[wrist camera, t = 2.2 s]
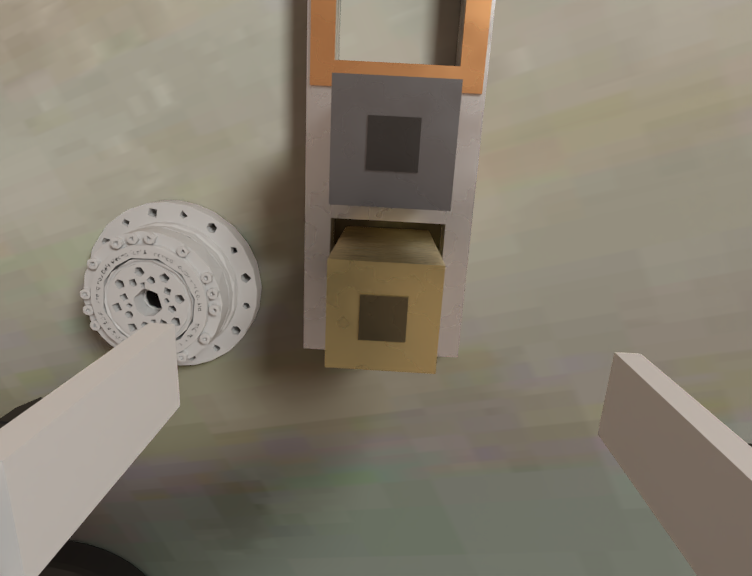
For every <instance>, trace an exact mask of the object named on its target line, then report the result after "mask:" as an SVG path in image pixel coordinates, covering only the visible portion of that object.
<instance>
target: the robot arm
mask: <svg viewBox="0 0 752 576" xmlns="http://www.w3.org/2000/svg"><path fill="white" fill-rule="evenodd" d="M179 407H180V397H179V383H178V368H177V354H176V339H175V325H174V324H163V323H148V324H147V325H145V326H144V327H143V328H141V329H140V330H138V331H137V332H136V333H134V334H133V335H131V336H130V337H128V338H127V339H126V340H124V341H123V342H121V343H120V344H119V345H117V346H116V347H114V348H113V349H112V350H110V351H109V352H107V353H106V354H105V355H103V356H102V357H100V358H99V359H98V360H96V361H95V362H93V363H92V364H90V365H89V366H88V367H86V368H85V369H83V370H82V371H81V372H79V373H78V374H76V375H75V376H74V377H72V378H71V379H69V380H68V381H67V382H65V383H64V384H62V385H61V386H60V387H58V388H57V389H55V390H54V391H53V392H51V393H50V394H48V395H47V396H45V397H44V398H41V397H40V398H38V399H35V400H33V401H31V402H28V403H26V404H24V405H21V406H19V407H17V408H15V409H13V410H12V411H10V412H9V413H8V414H6V415H5V416H3V417H2V418H0V576H145V575H144V574H143V573H142V572H141V571H139V570H138V569H137V568H136V567H134V566H133V565H131V564H130V563H128V562H127V561H125V560H124V559H122V558H120V557H118V556H116V555H114V554H112V553H110V552H108V551H105V550H103V549H100V548H97V547H94V546H90V545H87V544H82V543H77V542H70V541H68V539H69V538H70V537H71V536H72V535H73V533H74V532H75V531H76V530H77V529H78V527H79V526H80V525H81V524H82V523H83V521H84V520H85V519H86V518H87V517H88V515H89V514H90V513H91V512H92V511H93V509H94V508H95V507H96V506H97V505H98V503H99V502H100V501H101V500H102V499H103V497H104V496H105V495H106V494H107V493H108V491H109V490H110V489H111V488H112V487H113V485H114V484H115V483H116V482H117V481H118V479H119V478H120V477H121V476H122V475H123V474H124V472H125V471H126V470H127V469H128V468H129V466H130V465H131V464H132V463H133V462H134V460H135V459H136V458H137V457H138V456H139V454H140V453H141V452H142V451H143V450H144V448H145V447H146V446H147V445H148V444H149V442H150V441H151V440H152V439H153V438H154V436H155V435H156V434H157V433H158V432H159V430H160V429H161V428H162V427H163V426H164V424H165V423H166V422H167V421H168V420H169V418H170V417H171V416H172V415H173V414H174V412H175V411H176V410H177V409H178V408H179ZM598 435H599V436H600V438H601V439H602V441H603V442H604V443H605V445H606V446H607V448H608V449H609V451H610V452H611V453H612V455H613V456H614V458H615V459H616V461H617V462H618V463H619V465H620V466H621V468H622V469H623V470H624V472H625V473H626V475H627V476H628V478H629V479H630V480H631V482H632V483H633V485H634V486H635V488H636V489H637V490H638V492H639V493H640V495H641V496H642V498H643V499H644V500H645V502H646V503H647V505H648V506H649V507H650V509H651V510H652V512H653V513H654V515H655V516H656V517H657V519H658V520H659V522H660V523H661V525H662V526H663V527H664V529H665V530H666V532H667V533H668V534H669V536H670V537H671V539H672V540H673V542H674V543H675V544H676V546H677V547H678V549H679V550H680V552H681V553H682V554H683V556H684V557H685V559H686V560H687V562H688V563H689V564H690V566H691V567H692V569H693V570H694V571H695V573H696V574H697V576H752V444H747V443H746V442H745V441H744V440H742V439H741V438H740V437H739V436H738V435H737V434H735V433H734V432H733V431H732V430H731V429H729V428H728V427H727V426H726V425H725V424H724V423H722V422H721V421H720V420H719V419H718V418H716V417H715V416H714V415H713V414H712V413H710V412H709V411H708V410H707V409H706V408H705V407H703V406H702V405H701V404H700V403H699V402H697V401H696V400H695V399H694V398H693V397H692V396H690V395H689V394H688V393H687V392H686V391H684V390H683V389H682V388H681V387H680V386H678V385H677V384H676V383H675V382H674V381H673V380H671V379H670V378H669V377H668V376H667V375H665V374H664V373H663V372H662V371H661V370H660V369H658V368H657V367H656V366H655V365H654V364H652V363H651V362H650V361H649V360H648V359H647V358H645V357H644V356H643V355H642V354H637V353H621V352H615V353H614V357H613V362H612V367H611V372H610V377H609V382H608V387H607V391H606V396H605V401H604V406H603V411H602V416H601V421H600V425H599V430H598Z"/></svg>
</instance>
